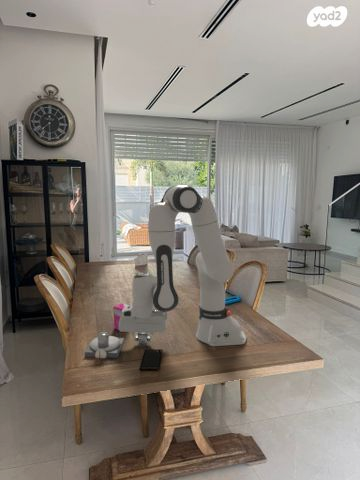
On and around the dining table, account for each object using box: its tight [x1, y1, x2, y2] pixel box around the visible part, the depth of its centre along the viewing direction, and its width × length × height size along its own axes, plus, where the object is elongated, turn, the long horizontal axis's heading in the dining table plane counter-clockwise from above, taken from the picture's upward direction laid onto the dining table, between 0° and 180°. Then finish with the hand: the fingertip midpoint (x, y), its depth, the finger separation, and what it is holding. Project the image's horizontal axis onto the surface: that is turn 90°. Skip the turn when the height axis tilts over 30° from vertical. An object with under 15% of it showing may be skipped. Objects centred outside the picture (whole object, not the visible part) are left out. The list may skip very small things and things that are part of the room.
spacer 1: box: [97, 331, 110, 348], centre depth 132 cm, size 4×4×5 cm
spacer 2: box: [137, 332, 149, 348], centre depth 140 cm, size 4×4×5 cm
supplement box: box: [112, 302, 129, 333], centre depth 154 cm, size 6×6×12 cm
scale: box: [84, 335, 125, 359], centre depth 135 cm, size 13×14×4 cm
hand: (142, 340), depth 140 cm, fingers closed on spacer 2, 4 cm apart
